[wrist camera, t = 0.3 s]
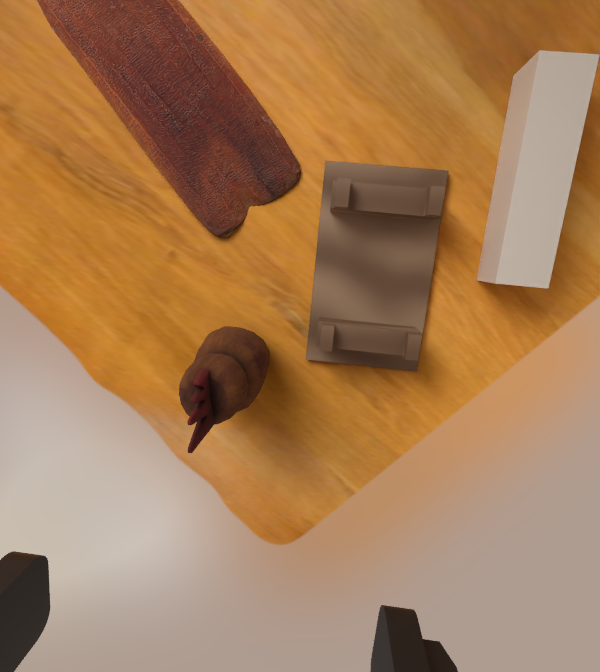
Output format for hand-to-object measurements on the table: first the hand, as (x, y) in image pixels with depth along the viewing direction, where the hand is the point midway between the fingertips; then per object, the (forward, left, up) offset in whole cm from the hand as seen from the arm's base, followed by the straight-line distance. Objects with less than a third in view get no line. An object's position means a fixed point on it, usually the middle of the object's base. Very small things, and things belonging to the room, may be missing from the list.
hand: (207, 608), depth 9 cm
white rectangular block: (-15, +17, -28) cm, 36 cm away
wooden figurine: (+2, -5, -28) cm, 29 cm away
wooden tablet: (-21, -13, -29) cm, 38 cm away
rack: (-7, +6, -28) cm, 30 cm away
